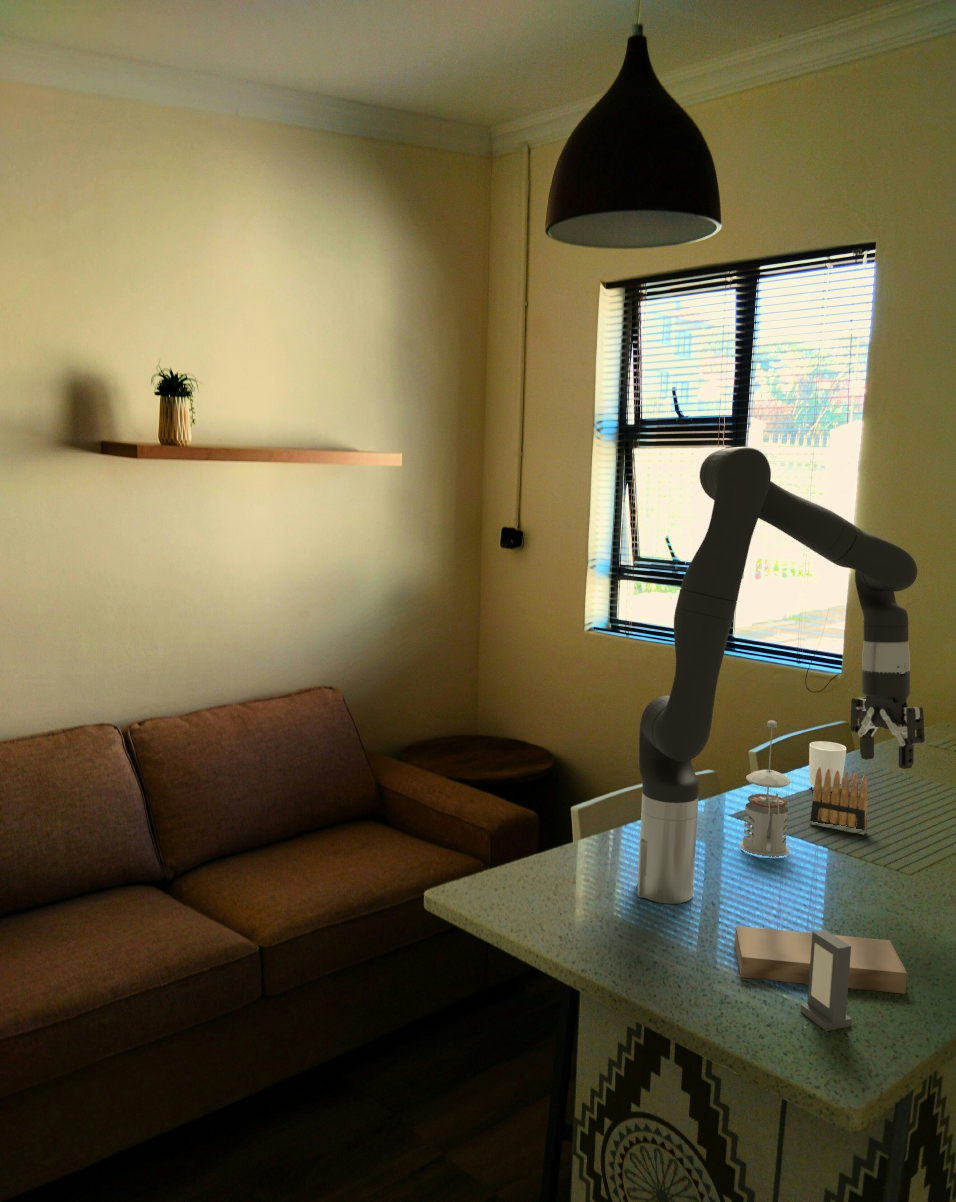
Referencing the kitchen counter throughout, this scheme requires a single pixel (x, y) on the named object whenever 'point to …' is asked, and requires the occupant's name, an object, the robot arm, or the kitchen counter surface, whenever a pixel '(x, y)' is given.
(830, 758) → the white cup
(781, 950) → the wooden block
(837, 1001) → the picture frame
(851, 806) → the ammunition clip
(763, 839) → the french press
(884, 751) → the kitchen counter surface
